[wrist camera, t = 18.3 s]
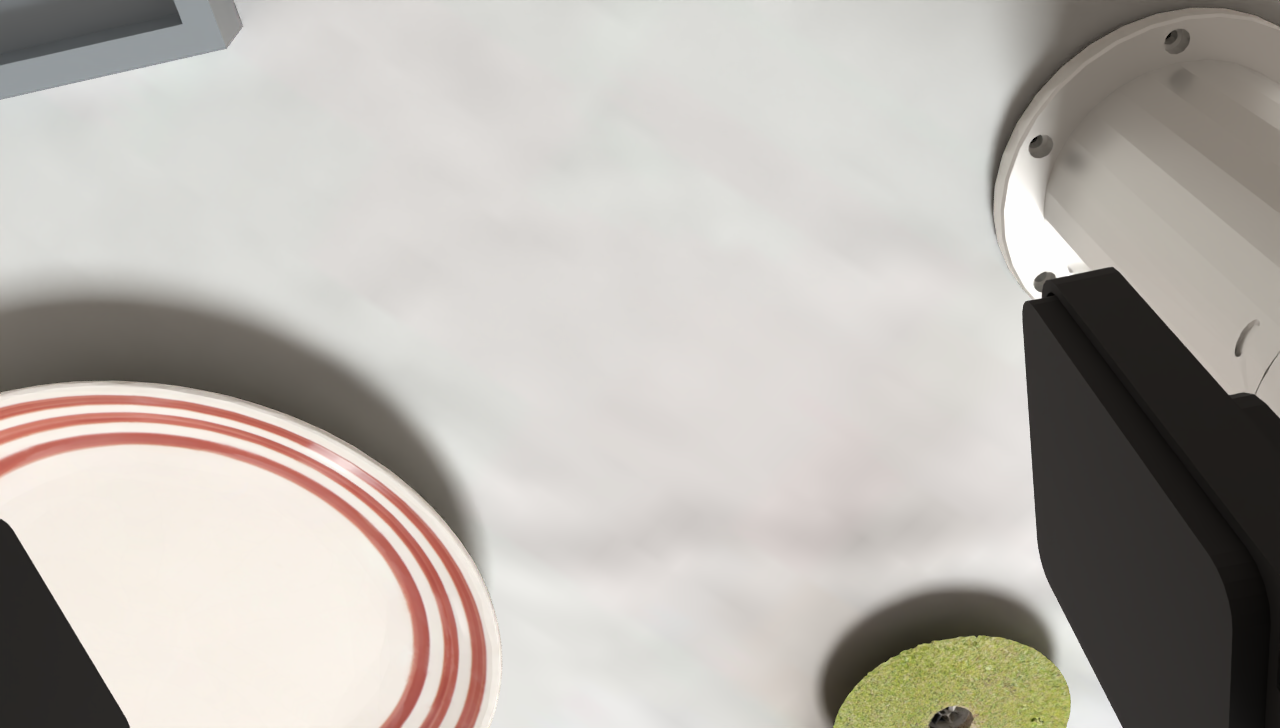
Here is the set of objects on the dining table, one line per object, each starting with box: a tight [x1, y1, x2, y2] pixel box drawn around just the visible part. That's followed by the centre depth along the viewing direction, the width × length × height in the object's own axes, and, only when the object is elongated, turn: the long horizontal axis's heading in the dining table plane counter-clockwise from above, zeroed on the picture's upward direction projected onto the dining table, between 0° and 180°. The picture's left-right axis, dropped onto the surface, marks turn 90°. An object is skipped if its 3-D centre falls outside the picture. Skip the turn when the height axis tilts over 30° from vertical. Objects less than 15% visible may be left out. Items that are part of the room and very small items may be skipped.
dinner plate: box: [0, 381, 502, 728], centre depth 51 cm, size 27×27×3 cm
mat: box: [833, 635, 1071, 728], centre depth 58 cm, size 11×11×2 cm
